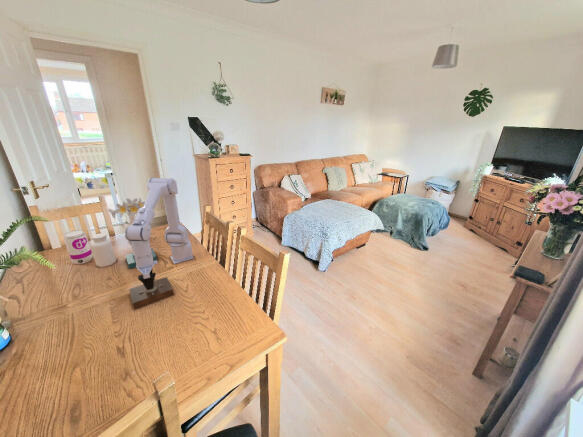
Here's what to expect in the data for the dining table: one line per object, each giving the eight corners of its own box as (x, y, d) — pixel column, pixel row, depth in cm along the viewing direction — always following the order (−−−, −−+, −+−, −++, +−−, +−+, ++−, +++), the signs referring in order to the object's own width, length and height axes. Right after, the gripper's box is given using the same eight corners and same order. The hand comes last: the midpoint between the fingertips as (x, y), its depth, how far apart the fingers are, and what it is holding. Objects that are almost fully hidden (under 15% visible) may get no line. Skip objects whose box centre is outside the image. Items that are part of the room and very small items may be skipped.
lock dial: (144, 287, 97) (142, 278, 95) (156, 284, 99) (155, 275, 98) (144, 293, 94) (142, 285, 92) (157, 290, 96) (155, 281, 94)
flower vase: (113, 243, 134) (101, 201, 124) (147, 232, 148) (138, 194, 139) (124, 251, 127) (113, 207, 118) (158, 238, 142) (150, 198, 132)
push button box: (153, 252, 127) (151, 245, 126) (157, 261, 120) (155, 253, 118) (126, 259, 120) (124, 251, 119) (129, 269, 113) (127, 260, 111)
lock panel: (167, 282, 105) (166, 276, 104) (174, 294, 98) (172, 288, 97) (130, 295, 97) (128, 288, 96) (134, 309, 90) (132, 303, 89)
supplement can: (96, 259, 119) (88, 232, 114) (76, 266, 113) (65, 238, 107) (89, 254, 123) (81, 228, 118) (69, 261, 117) (59, 234, 111)
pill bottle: (120, 259, 120) (113, 232, 115) (107, 268, 113) (99, 240, 107) (105, 257, 121) (97, 231, 115) (92, 266, 114) (82, 238, 108)
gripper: (156, 260, 86) (162, 290, 92) (154, 243, 98) (159, 271, 103) (133, 266, 83) (141, 296, 88) (133, 247, 94) (140, 275, 100)
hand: (149, 283), depth 95 cm, fingers open, 7 cm apart
